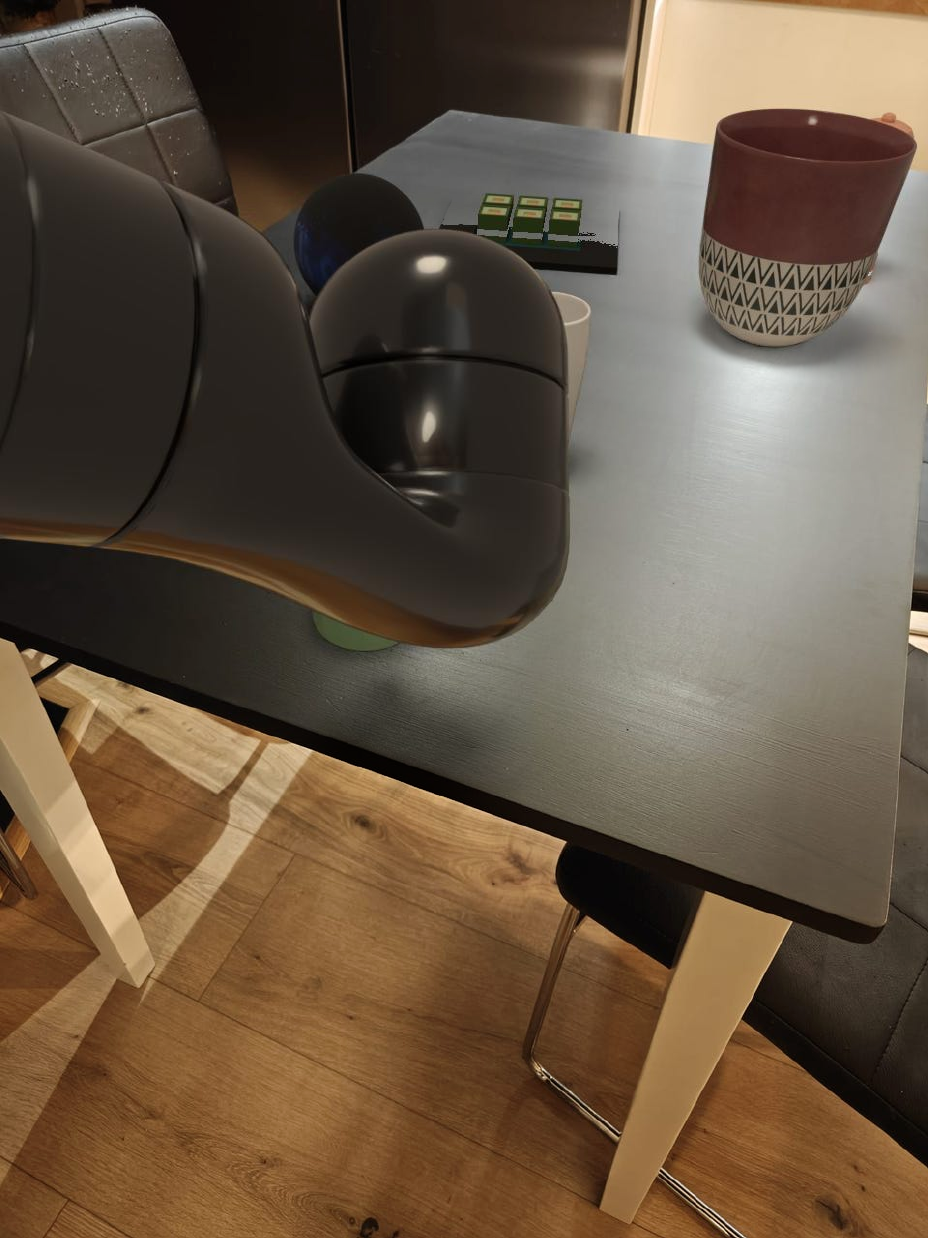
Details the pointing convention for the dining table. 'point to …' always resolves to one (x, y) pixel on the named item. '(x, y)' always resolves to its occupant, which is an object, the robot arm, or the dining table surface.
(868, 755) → the dining table surface
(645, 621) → the dining table surface
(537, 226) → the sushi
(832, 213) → the planter
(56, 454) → the robot arm
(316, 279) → the decorative sphere
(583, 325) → the drinking glass
